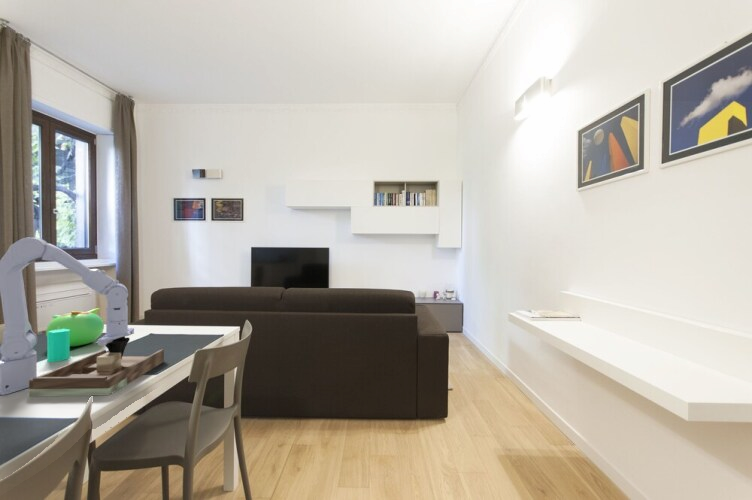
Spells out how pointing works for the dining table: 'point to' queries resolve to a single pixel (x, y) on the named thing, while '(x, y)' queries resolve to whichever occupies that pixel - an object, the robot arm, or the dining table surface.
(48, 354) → the candle
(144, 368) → the box
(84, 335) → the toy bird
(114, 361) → the beech block
